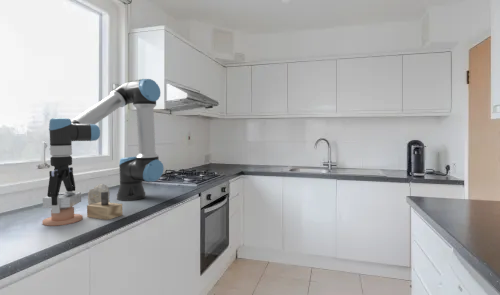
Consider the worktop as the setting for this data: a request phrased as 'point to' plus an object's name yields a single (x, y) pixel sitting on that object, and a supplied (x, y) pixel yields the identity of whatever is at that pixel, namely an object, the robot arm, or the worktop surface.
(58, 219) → the hub
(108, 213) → the stand
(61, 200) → the grey square stone block
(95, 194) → the stone
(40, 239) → the worktop surface
